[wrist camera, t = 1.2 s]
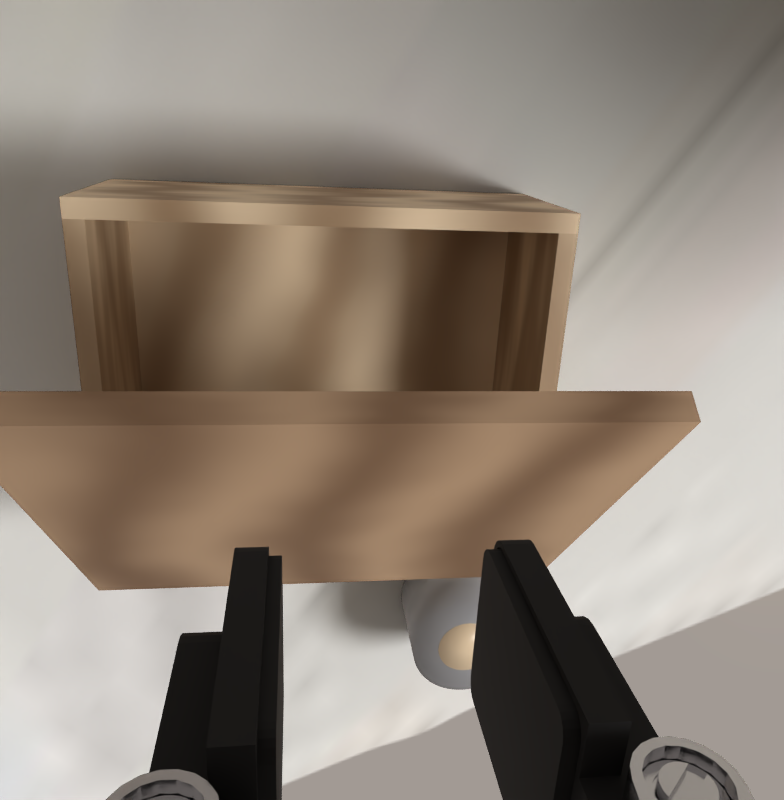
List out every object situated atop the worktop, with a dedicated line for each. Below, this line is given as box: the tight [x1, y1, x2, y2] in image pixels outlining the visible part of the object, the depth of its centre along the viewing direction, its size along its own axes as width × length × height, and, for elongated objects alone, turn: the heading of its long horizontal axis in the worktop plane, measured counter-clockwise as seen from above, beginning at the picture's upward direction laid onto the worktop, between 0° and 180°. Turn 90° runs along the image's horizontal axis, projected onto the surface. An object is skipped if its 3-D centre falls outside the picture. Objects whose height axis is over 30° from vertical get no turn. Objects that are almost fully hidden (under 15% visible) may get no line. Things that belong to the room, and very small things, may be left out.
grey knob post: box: [401, 577, 481, 689], centre depth 43 cm, size 6×6×5 cm
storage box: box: [59, 179, 581, 391], centre depth 35 cm, size 20×16×8 cm
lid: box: [0, 391, 701, 590], centre depth 26 cm, size 20×16×1 cm
